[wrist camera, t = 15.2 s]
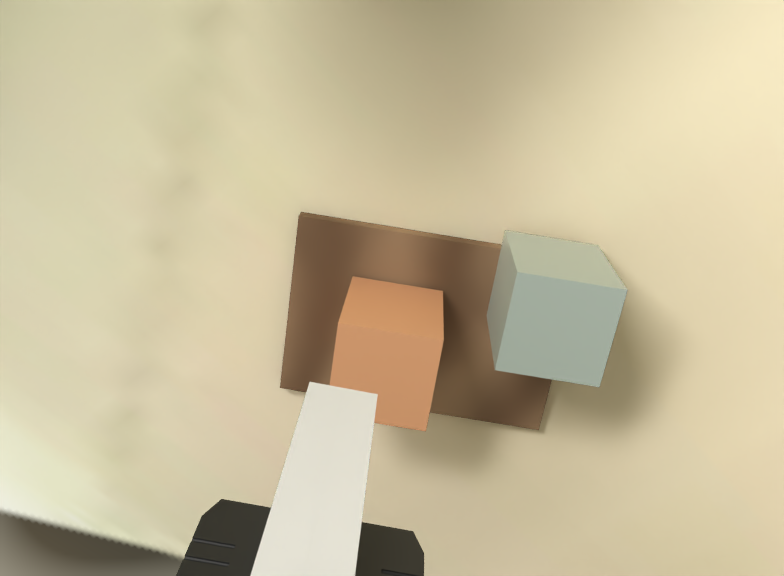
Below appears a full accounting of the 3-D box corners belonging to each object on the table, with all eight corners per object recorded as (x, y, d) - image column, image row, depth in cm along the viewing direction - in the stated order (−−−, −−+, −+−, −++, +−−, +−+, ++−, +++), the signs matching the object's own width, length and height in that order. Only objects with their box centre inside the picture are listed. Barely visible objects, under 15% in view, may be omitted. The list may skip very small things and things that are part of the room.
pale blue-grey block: (486, 315, 43) (494, 370, 36) (505, 230, 41) (517, 272, 34) (575, 329, 43) (599, 387, 36) (598, 245, 41) (627, 289, 34)
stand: (282, 381, 46) (280, 387, 45) (301, 212, 42) (298, 215, 41) (536, 423, 46) (538, 429, 45) (579, 257, 42) (582, 262, 41)
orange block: (341, 356, 44) (325, 414, 38) (352, 276, 42) (338, 323, 36) (427, 371, 44) (425, 431, 38) (443, 290, 42) (443, 340, 36)
